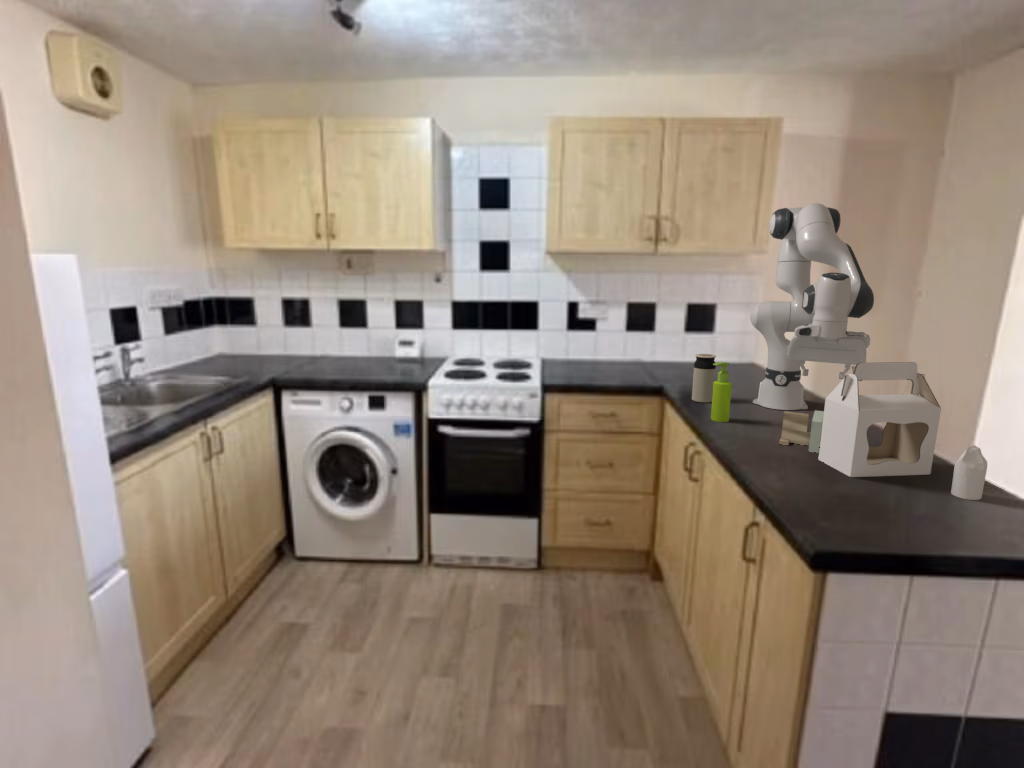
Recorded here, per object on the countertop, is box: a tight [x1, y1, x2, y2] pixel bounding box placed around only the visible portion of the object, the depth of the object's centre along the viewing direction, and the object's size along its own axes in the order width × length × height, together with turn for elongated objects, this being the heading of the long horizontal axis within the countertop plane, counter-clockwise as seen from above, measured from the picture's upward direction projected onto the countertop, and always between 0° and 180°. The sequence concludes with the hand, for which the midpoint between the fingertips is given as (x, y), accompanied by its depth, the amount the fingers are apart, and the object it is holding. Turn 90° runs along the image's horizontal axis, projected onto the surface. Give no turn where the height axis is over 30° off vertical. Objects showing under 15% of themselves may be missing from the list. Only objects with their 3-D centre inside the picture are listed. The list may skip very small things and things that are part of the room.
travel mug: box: [691, 353, 717, 404], centre depth 219 cm, size 8×8×18 cm
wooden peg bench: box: [778, 410, 821, 447], centre depth 165 cm, size 8×18×9 cm, turn 60°
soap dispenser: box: [710, 361, 733, 423], centre depth 191 cm, size 6×7×20 cm
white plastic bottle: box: [950, 444, 988, 501], centre depth 129 cm, size 6×12×6 cm
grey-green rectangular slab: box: [808, 410, 824, 454], centre depth 165 cm, size 14×2×9 cm, turn 149°
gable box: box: [817, 361, 942, 478], centre depth 146 cm, size 22×13×28 cm, turn 95°
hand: (823, 377), depth 166 cm, fingers open, 8 cm apart
